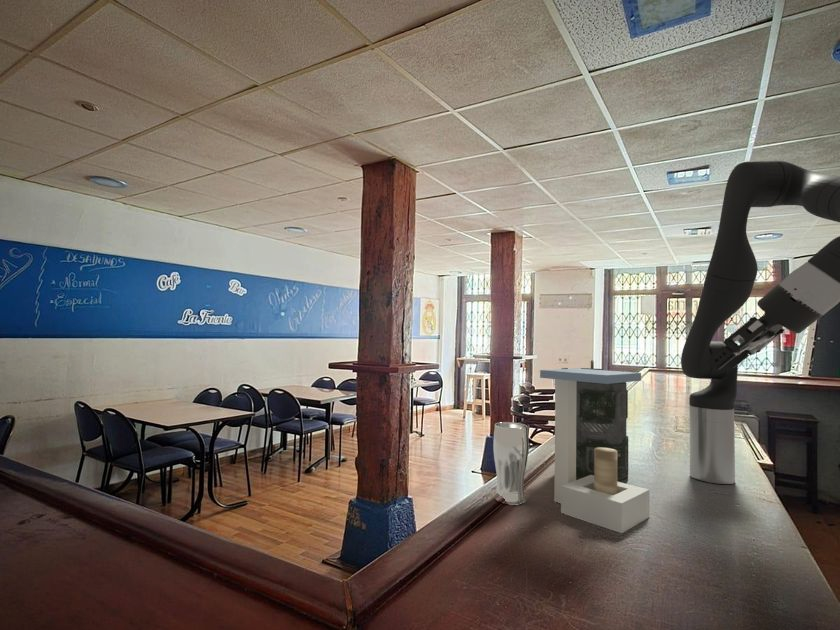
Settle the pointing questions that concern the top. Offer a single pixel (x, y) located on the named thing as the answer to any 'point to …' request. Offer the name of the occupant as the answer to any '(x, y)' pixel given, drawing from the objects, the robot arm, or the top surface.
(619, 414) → the canister
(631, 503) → the kiosk
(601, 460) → the peg
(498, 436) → the beer glass
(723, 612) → the top surface
